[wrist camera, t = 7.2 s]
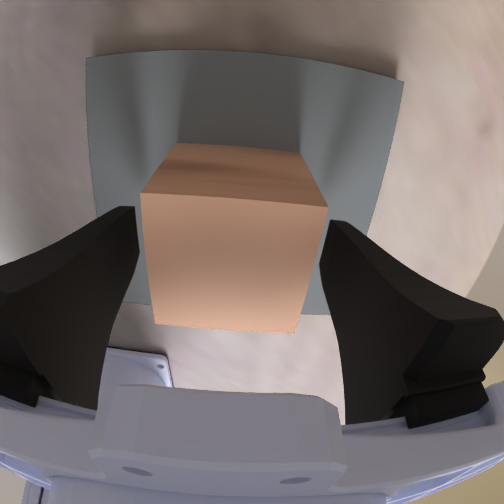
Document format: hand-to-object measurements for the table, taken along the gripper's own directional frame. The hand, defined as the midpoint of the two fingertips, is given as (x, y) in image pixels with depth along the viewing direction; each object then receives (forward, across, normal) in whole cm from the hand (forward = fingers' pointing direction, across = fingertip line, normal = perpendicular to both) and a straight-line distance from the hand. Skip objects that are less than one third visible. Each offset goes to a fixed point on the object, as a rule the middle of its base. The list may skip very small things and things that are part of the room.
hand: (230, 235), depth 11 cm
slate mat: (+3, 0, 0) cm, 3 cm away
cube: (+3, 0, 0) cm, 3 cm away
